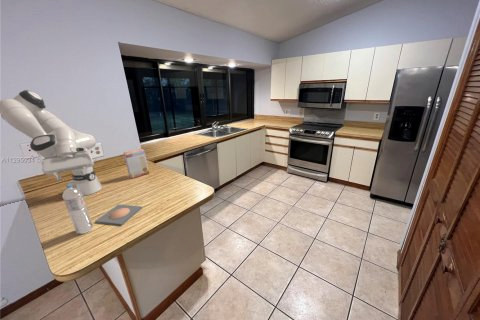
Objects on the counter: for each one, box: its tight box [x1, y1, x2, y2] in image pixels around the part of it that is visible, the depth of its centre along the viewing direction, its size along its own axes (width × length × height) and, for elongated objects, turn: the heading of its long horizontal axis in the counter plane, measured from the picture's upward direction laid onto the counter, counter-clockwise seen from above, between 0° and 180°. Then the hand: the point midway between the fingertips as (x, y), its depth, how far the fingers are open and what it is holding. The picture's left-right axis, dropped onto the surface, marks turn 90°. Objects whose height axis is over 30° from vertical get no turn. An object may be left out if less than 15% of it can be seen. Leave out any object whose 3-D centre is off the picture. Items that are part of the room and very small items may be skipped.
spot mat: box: [94, 204, 143, 226], centre depth 109 cm, size 16×16×1 cm
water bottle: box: [62, 183, 94, 235], centre depth 94 cm, size 7×7×25 cm
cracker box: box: [123, 148, 150, 180], centre depth 158 cm, size 14×6×21 cm, turn 135°
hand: (71, 177), depth 99 cm, fingers open, 8 cm apart
